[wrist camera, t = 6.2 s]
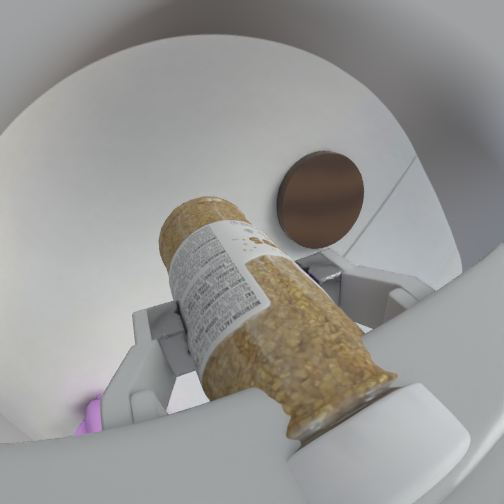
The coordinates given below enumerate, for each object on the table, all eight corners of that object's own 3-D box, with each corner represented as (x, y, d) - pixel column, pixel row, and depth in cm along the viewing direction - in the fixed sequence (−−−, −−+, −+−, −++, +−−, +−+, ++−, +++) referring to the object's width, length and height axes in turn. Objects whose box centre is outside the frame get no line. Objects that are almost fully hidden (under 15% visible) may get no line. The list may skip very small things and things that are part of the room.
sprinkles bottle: (263, 231, 16) (478, 438, 5) (203, 293, 16) (342, 539, 5) (202, 173, 13) (496, 439, 2) (136, 246, 13) (232, 588, 2)
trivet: (271, 159, 36) (276, 162, 34) (357, 145, 39) (363, 147, 38) (281, 256, 43) (286, 261, 41) (356, 230, 46) (362, 233, 45)
